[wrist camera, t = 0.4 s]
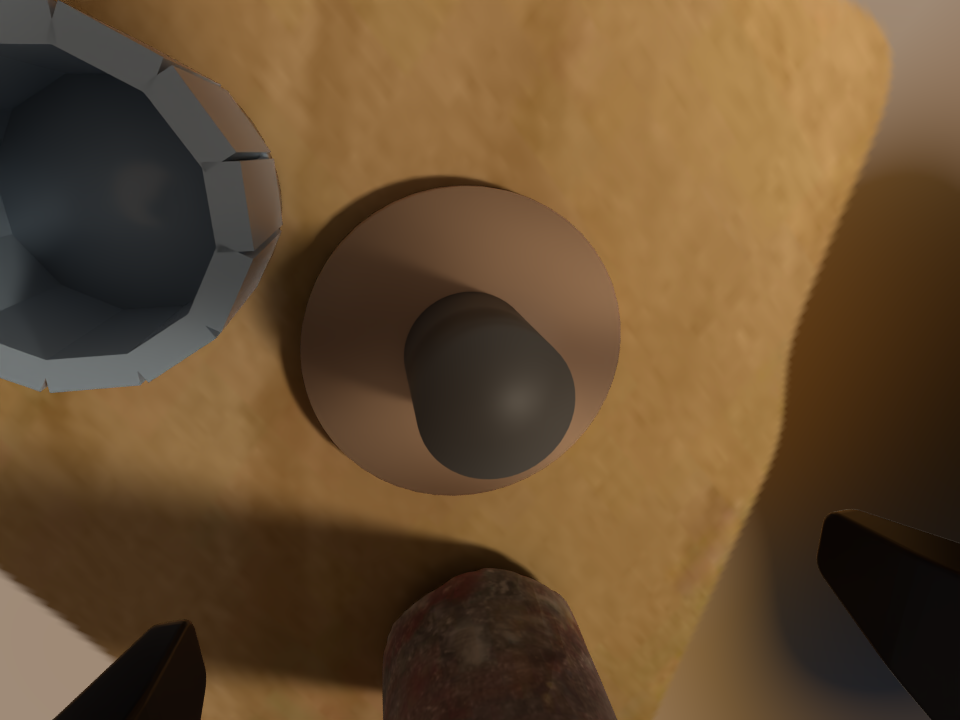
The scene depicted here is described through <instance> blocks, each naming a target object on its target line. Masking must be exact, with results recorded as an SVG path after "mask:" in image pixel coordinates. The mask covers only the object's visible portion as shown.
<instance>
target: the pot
mask: <svg viewBox="0 0 960 720" xmlns="http://www.w3.org/2000/svg"><path fill="white" fill-rule="evenodd" d="M220 86H221V85H220V84H219V83H217V82H215V81H213V80H211V79H209V78H208V77H206V76H204V75H202V74H200V73H199V72H197V71H195V70H193V69H192V68H190V67H188V66H186V65H184V64H182V63H180V62H178V61H177V60H175V59H173V58H171V57H169V56H167V55H166V54H164V53H162V52H160V51H158V50H156V49H155V48H153V47H151V46H149V45H147V44H145V43H143V42H141V41H139V40H137V39H135V38H133V37H131V36H129V35H127V34H125V33H123V32H121V31H119V30H117V29H115V28H113V27H111V26H109V25H107V24H105V23H103V22H101V21H99V20H97V19H95V18H93V17H91V16H89V15H87V14H85V13H83V12H81V11H79V10H77V9H75V8H73V7H71V6H69V5H67V4H65V3H63V2H61V1H59V0H58V1H57V2H56V1H54V0H0V378H2V379H5V380H8V381H11V382H14V383H17V384H20V385H23V386H26V387H28V388H31V389H34V390H37V391H40V392H41V391H42V390H43V389H45V388H46V387H47V386H48V388H49V391H50V393H54V392H66V391H77V390H89V389H101V388H113V387H125V386H137V385H141V384H142V383H143V382H144V381H145V380H147V381H148V382H150V381H152V380H153V379H155V378H156V377H158V376H159V375H161V374H162V373H164V372H165V371H167V370H168V369H170V368H171V367H173V366H175V365H176V364H178V363H179V362H181V361H182V360H184V359H185V358H187V357H188V356H190V355H191V354H193V353H194V352H196V351H197V350H199V349H200V348H202V347H204V346H205V345H207V344H208V343H210V342H211V341H213V340H214V339H216V338H217V336H218V335H219V334H220V333H221V332H222V331H223V329H224V328H225V327H226V326H227V324H228V323H229V322H230V320H231V319H232V318H233V317H234V315H235V314H236V313H237V311H238V310H239V309H240V308H241V306H242V305H243V304H244V302H245V301H246V300H247V299H248V297H249V296H250V295H251V293H252V292H253V291H254V290H255V288H256V287H257V286H258V284H259V281H260V279H261V277H262V275H263V272H264V270H265V268H266V266H267V264H268V263H269V261H270V259H271V257H272V255H273V252H274V249H275V246H276V244H277V241H278V239H279V236H280V234H281V232H282V231H281V230H280V227H281V226H282V225H283V223H282V216H281V215H282V202H281V190H280V185H279V180H278V175H277V171H276V168H275V164H274V159H272V156H271V154H270V152H271V151H270V150H269V148H268V147H267V146H266V144H265V142H264V140H263V138H262V136H261V135H260V133H259V131H258V130H257V128H256V127H255V125H254V124H253V122H252V121H251V120H250V118H249V117H248V116H247V115H246V113H245V112H244V111H243V110H242V108H241V107H240V106H239V105H238V104H237V103H236V102H235V101H234V99H233V98H232V96H231V95H230V94H229V92H228V91H227V90H226V89H223V88H221V87H220Z"/></svg>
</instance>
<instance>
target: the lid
mask: <svg viewBox="0 0 960 720" xmlns="http://www.w3.org/2000/svg"><path fill="white" fill-rule="evenodd" d="M619 350H620V315H619V308H618V302H617V298H616V295H615V291H614V287H613V284H612V282H611V279H610V277H609V275H608V272H607V270H606V268H605V266H604V264H603V262H602V261H601V259H600V257H599V256H598V254H597V252H596V251H595V249H594V248H593V247H592V245H591V244H590V243H589V242H588V241H587V239H586V238H585V237H584V236H583V234H582V233H581V232H580V231H578V230H577V229H576V228H575V227H574V226H573V225H572V224H571V223H570V222H569V221H568V220H566V219H565V218H564V217H562V216H561V215H559V214H558V213H556V212H555V211H553V210H552V209H550V208H549V207H547V206H545V205H543V204H541V203H539V202H537V201H535V200H533V199H531V198H528V197H525V196H522V195H519V194H516V193H513V192H510V191H506V190H501V189H496V188H490V187H484V186H468V185H456V186H447V187H437V188H433V189H429V190H425V191H421V192H417V193H414V194H411V195H409V196H406V197H404V198H401V199H399V200H396V201H394V202H392V203H390V204H388V205H387V206H385V207H383V208H381V209H380V210H378V211H376V212H374V213H373V214H372V215H370V216H369V217H368V218H366V219H365V220H364V221H362V222H361V223H360V224H359V225H357V226H356V227H355V228H354V229H353V230H352V231H351V232H350V233H349V234H348V235H347V236H346V237H345V238H344V239H343V240H342V241H341V242H340V243H339V245H338V246H337V247H336V249H335V250H334V251H333V253H332V254H331V255H330V257H329V258H328V259H327V261H326V263H325V265H324V266H323V268H322V270H321V272H320V274H319V276H318V277H317V279H316V282H315V284H314V287H313V290H312V292H311V295H310V298H309V300H308V303H307V306H306V311H305V315H304V320H303V324H302V331H301V344H300V354H301V370H302V375H303V379H304V384H305V389H306V392H307V395H308V397H309V400H310V403H311V406H312V408H313V410H314V412H315V414H316V416H317V418H318V420H319V422H320V423H321V425H322V427H323V428H324V430H325V431H326V433H327V434H328V435H329V437H330V438H331V439H332V441H333V442H334V443H335V444H336V445H337V446H338V447H339V448H340V449H341V450H342V451H343V453H344V454H345V455H346V456H347V457H349V458H350V459H351V460H352V461H354V462H355V463H356V464H357V465H359V466H360V467H361V468H363V469H364V470H366V471H367V472H369V473H371V474H373V475H374V476H376V477H378V478H379V479H381V480H384V481H386V482H388V483H391V484H393V485H395V486H398V487H401V488H405V489H408V490H412V491H415V492H421V493H427V494H433V495H452V496H455V495H469V494H477V493H482V492H487V491H492V490H496V489H499V488H502V487H505V486H509V485H511V484H514V483H516V482H518V481H521V480H523V479H525V478H528V477H529V476H531V475H533V474H535V473H536V472H538V471H540V470H542V469H543V468H545V467H546V466H548V465H549V464H551V463H552V462H553V461H555V460H556V459H557V458H559V457H560V456H561V455H562V454H563V453H565V452H566V451H567V450H568V449H569V448H570V447H571V446H572V445H573V444H574V443H575V442H576V441H577V440H578V439H579V438H580V436H581V435H582V434H583V433H584V432H585V431H586V430H587V428H588V427H589V425H590V424H591V422H592V421H593V419H594V418H595V417H596V415H597V414H598V412H599V410H600V408H601V406H602V404H603V402H604V401H605V399H606V397H607V394H608V392H609V389H610V387H611V384H612V381H613V379H614V375H615V371H616V367H617V363H618V357H619Z"/></svg>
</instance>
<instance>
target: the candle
mask: <svg viewBox="0 0 960 720" xmlns="http://www.w3.org/2000/svg"><path fill="white" fill-rule="evenodd" d="M382 680H383V720H617V718H616V716H615V713H614V711H613V709H612V706H611V704H610V701H609V699H608V696H607V694H606V691H605V689H604V687H603V684H602V682H601V679H600V677H599V675H598V672H597V670H596V668H595V665H594V663H593V661H592V658H591V656H590V654H589V652H588V649H587V647H586V645H585V642H584V639H583V637H582V634H581V632H580V630H579V627H578V625H577V622H576V620H575V618H574V616H573V614H572V612H571V610H570V608H569V606H568V604H567V602H566V601H565V600H564V599H563V597H562V596H561V595H560V594H558V593H557V592H555V591H552V590H551V589H549V588H548V587H547V586H545V585H543V584H541V583H540V582H538V581H536V580H534V579H532V578H530V577H527V576H522V575H520V574H518V573H516V572H513V571H508V570H503V569H495V568H483V569H480V570H477V571H474V572H467V573H463V574H460V575H458V576H455V577H453V578H452V579H450V580H449V581H448V582H446V583H445V584H443V585H442V586H440V587H439V588H437V589H436V590H434V591H432V592H430V593H428V594H426V595H425V596H424V597H422V598H421V599H420V600H418V601H417V602H415V603H414V604H413V605H412V606H411V607H410V608H409V609H407V610H406V611H405V612H404V613H403V614H402V615H401V617H400V618H399V619H398V620H397V621H396V622H395V623H394V624H393V626H392V629H391V631H390V633H389V635H388V639H387V645H386V647H385V650H384V656H383V672H382Z"/></svg>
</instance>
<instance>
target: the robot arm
mask: <svg viewBox="0 0 960 720" xmlns="http://www.w3.org/2000/svg"><path fill="white" fill-rule="evenodd" d="M817 565H818V568H819V571H820V573H821V574H822V576H823V578H824V579H825V580H826V582H827V583H828V585H829V586H830V587H831V589H832V590H833V592H834V593H835V594H836V596H837V597H838V599H839V600H840V601H841V602H842V604H843V606H844V607H845V608H846V610H847V611H848V613H849V614H850V615H851V617H852V618H853V619H854V621H855V622H856V624H857V625H858V627H859V628H860V630H861V631H862V632H863V634H864V635H865V637H866V638H867V639H868V641H869V642H870V644H871V645H872V646H873V648H874V649H875V650H876V652H877V653H878V655H879V656H880V657H881V658H882V660H883V661H884V663H885V664H886V665H887V667H888V668H889V669H890V670H891V672H892V673H893V674H894V676H895V677H896V678H897V679H898V681H899V682H900V683H901V684H902V686H903V687H904V688H905V689H906V690H907V692H908V693H909V694H910V695H911V696H912V697H913V699H914V700H915V701H916V702H917V703H918V705H920V707H921V708H922V709H923V711H924V712H925V713H926V714H927V715H928V716H929V718H930V719H931V720H960V543H958V542H954V541H951V540H948V539H945V538H942V537H939V536H936V535H933V534H930V533H927V532H924V531H921V530H918V529H915V528H912V527H909V526H906V525H903V524H900V523H897V522H894V521H891V520H888V519H885V518H882V517H879V516H876V515H873V514H870V513H867V512H863V511H860V510H857V509H848V510H842V511H836V512H831V513H829V514H828V515H827V516H826V517H825V518H824V521H823V525H822V530H821V535H820V541H819V546H818V551H817ZM205 688H206V671H205V666H204V662H203V658H202V654H201V650H200V646H199V643H198V639H197V635H196V631H195V628H194V626H193V624H192V622H191V621H189V620H186V619H184V620H178V621H172V622H166V623H160V624H157V625H154V626H153V627H151V628H150V629H149V630H148V631H147V632H146V633H144V634H143V635H142V636H141V637H140V638H139V639H138V640H137V641H136V642H135V643H134V644H133V645H132V646H131V647H130V648H129V649H127V650H126V651H125V652H124V653H123V654H122V655H121V656H120V657H119V658H118V659H117V660H116V661H115V662H114V663H113V664H112V665H110V666H109V668H107V669H106V670H105V671H104V672H103V673H102V674H101V675H100V676H99V677H98V678H97V679H96V680H95V681H94V682H92V683H91V684H90V685H89V686H88V687H87V688H86V689H85V690H84V691H83V692H82V693H81V694H80V695H79V696H77V698H75V699H74V700H73V701H72V702H71V703H70V704H69V705H68V706H67V707H66V708H65V709H64V710H63V711H62V712H60V714H58V716H56V717H55V718H54V719H53V720H201V714H202V707H203V701H204V695H205Z"/></svg>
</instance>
